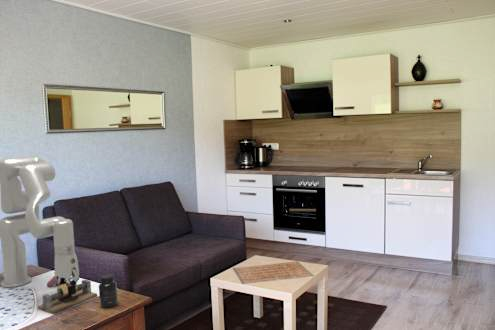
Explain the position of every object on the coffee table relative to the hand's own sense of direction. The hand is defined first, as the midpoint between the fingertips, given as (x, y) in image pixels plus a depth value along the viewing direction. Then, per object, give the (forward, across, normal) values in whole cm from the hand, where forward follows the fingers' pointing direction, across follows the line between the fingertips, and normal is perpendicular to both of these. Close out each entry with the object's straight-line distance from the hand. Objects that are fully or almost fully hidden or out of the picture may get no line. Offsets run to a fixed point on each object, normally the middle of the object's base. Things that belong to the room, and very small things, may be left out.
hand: (67, 292), depth 179 cm
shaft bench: (+4, 0, 0) cm, 4 cm away
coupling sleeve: (+1, 0, 0) cm, 1 cm away
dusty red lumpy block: (+4, +24, -12) cm, 27 cm away
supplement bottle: (+4, -17, -6) cm, 19 cm away
